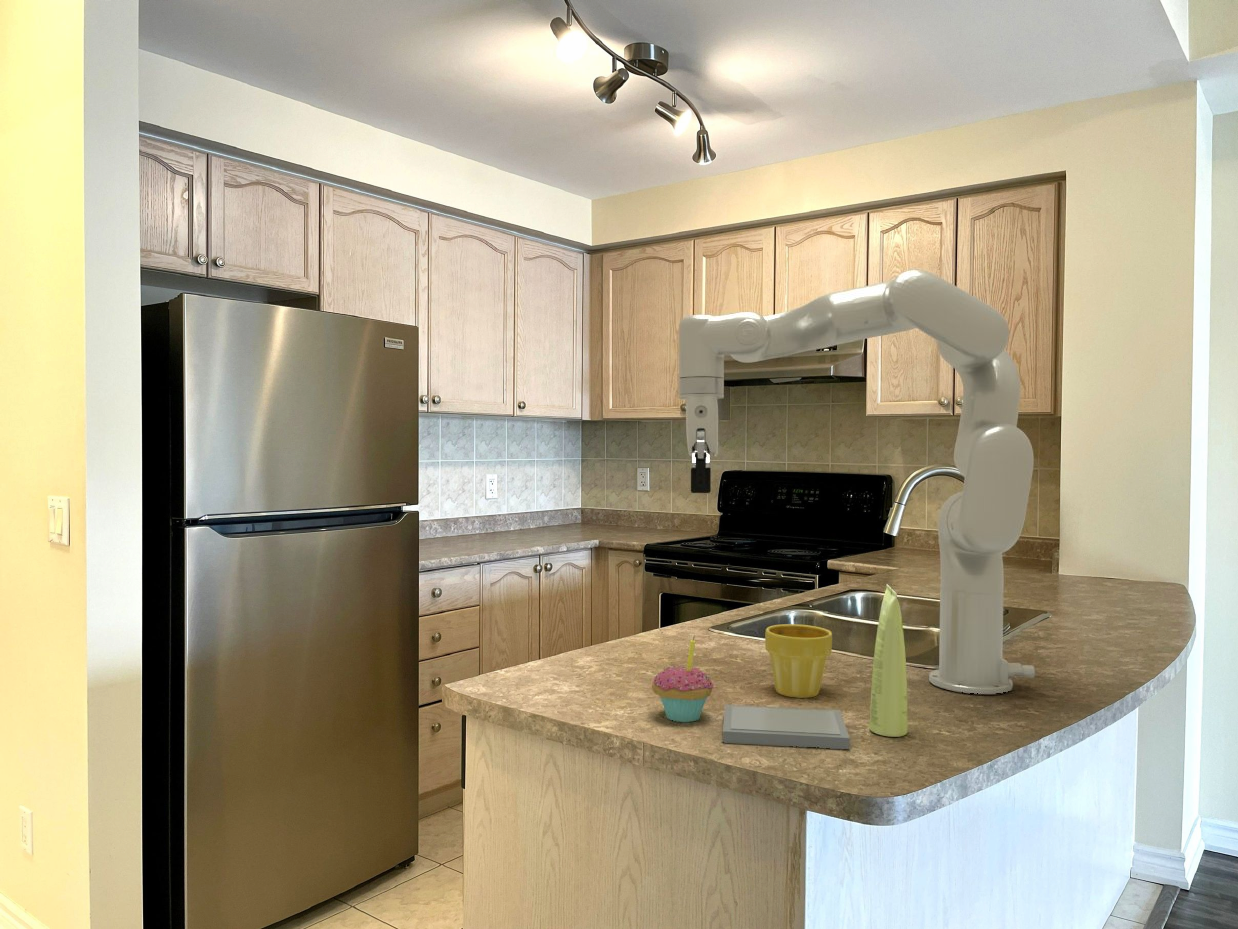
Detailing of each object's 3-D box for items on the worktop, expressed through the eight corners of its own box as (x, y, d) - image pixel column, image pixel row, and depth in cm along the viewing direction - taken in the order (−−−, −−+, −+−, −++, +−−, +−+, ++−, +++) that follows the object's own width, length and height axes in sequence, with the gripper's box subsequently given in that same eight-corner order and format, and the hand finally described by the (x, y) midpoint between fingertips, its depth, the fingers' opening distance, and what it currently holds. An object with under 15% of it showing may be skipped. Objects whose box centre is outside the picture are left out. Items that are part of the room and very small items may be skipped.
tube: (919, 735, 117) (921, 589, 116) (894, 741, 114) (896, 592, 114) (885, 723, 121) (887, 583, 121) (860, 730, 119) (862, 586, 118)
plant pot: (845, 696, 135) (846, 633, 135) (794, 705, 130) (795, 639, 130) (800, 680, 144) (801, 621, 144) (751, 688, 139) (751, 627, 139)
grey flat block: (839, 720, 123) (839, 709, 123) (849, 749, 111) (849, 737, 111) (725, 715, 125) (725, 704, 125) (722, 742, 113) (722, 730, 113)
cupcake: (724, 717, 124) (725, 632, 124) (688, 731, 118) (688, 642, 118) (676, 704, 130) (677, 624, 130) (639, 717, 124) (640, 633, 123)
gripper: (724, 385, 138) (724, 494, 138) (722, 393, 155) (722, 489, 155) (677, 386, 138) (676, 494, 139) (680, 393, 156) (680, 489, 156)
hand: (700, 491), depth 147 cm, fingers open, 9 cm apart
